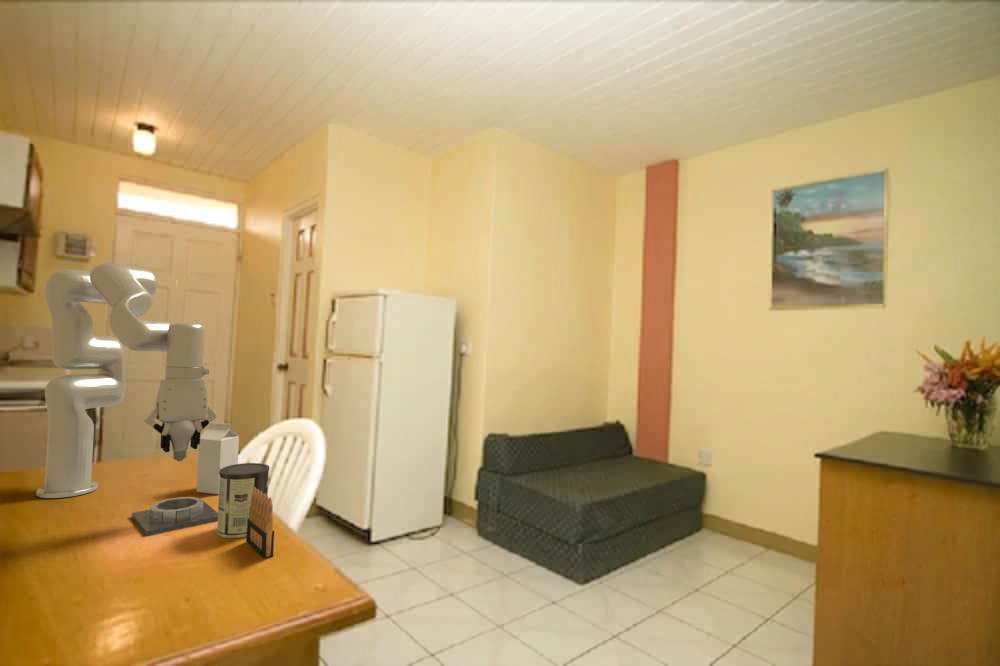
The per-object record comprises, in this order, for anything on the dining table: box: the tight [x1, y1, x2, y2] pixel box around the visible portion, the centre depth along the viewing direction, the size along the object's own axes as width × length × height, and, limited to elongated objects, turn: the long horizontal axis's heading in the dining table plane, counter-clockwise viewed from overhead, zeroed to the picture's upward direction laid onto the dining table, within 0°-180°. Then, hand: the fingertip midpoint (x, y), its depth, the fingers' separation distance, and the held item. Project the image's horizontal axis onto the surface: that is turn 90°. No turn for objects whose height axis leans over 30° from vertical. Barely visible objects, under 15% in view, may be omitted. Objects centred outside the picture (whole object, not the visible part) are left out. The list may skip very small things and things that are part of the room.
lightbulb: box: [168, 420, 196, 462], centre depth 118 cm, size 6×6×11 cm
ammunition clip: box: [245, 487, 275, 559], centre depth 104 cm, size 11×2×12 cm, turn 45°
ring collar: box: [131, 496, 218, 537], centre depth 118 cm, size 15×15×4 cm
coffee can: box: [216, 462, 270, 539], centre depth 113 cm, size 10×10×14 cm
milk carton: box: [196, 421, 240, 495], centre depth 140 cm, size 7×7×19 cm
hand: (180, 448), depth 118 cm, fingers closed on lightbulb, 5 cm apart
